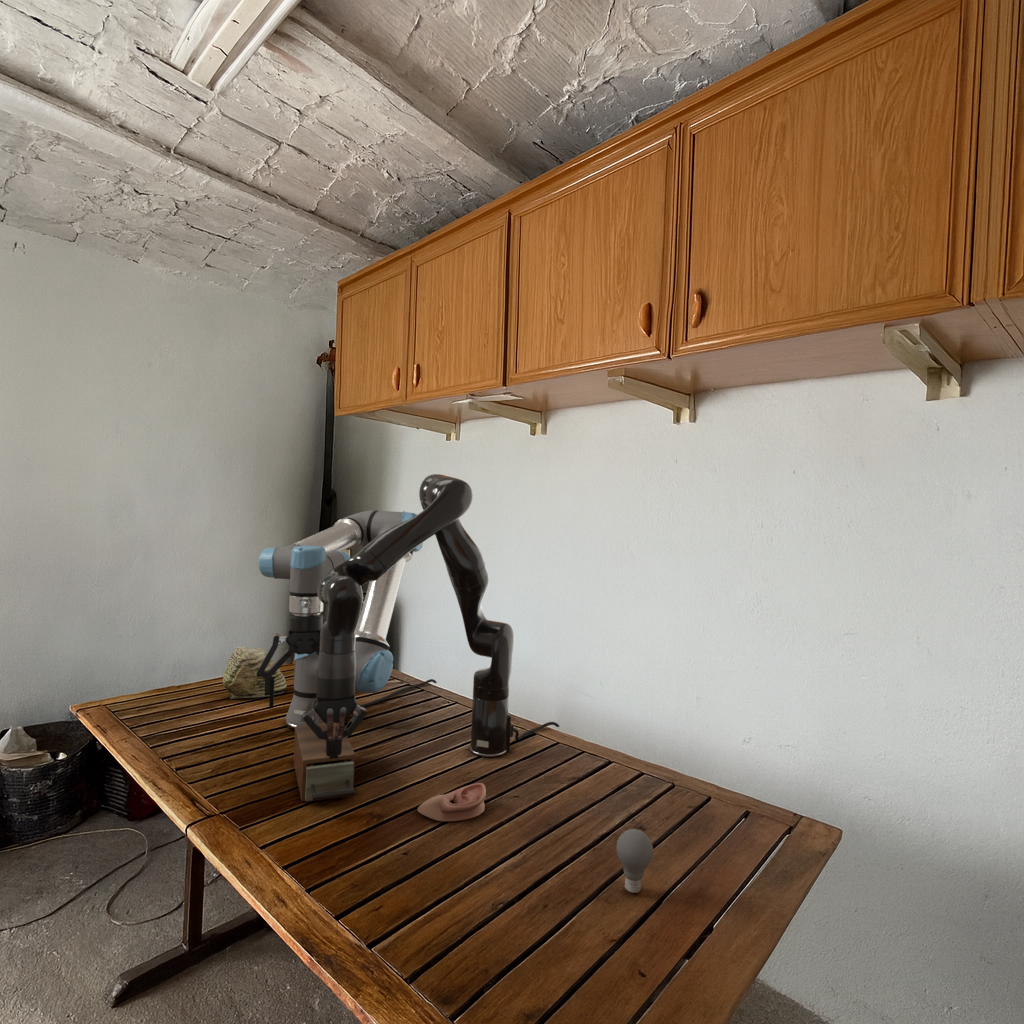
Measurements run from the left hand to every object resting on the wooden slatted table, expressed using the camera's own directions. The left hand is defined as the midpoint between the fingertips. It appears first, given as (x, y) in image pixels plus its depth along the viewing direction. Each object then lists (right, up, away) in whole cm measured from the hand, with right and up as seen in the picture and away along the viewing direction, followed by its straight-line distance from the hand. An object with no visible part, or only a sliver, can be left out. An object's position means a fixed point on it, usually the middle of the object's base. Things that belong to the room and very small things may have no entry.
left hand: (302, 705), depth 146 cm
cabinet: (+5, -15, -3) cm, 17 cm away
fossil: (-32, -13, +52) cm, 63 cm away
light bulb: (+68, -19, -40) cm, 82 cm away
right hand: (+12, -5, -18) cm, 22 cm away
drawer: (+8, -15, -8) cm, 19 cm away
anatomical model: (+36, -17, -15) cm, 43 cm away
